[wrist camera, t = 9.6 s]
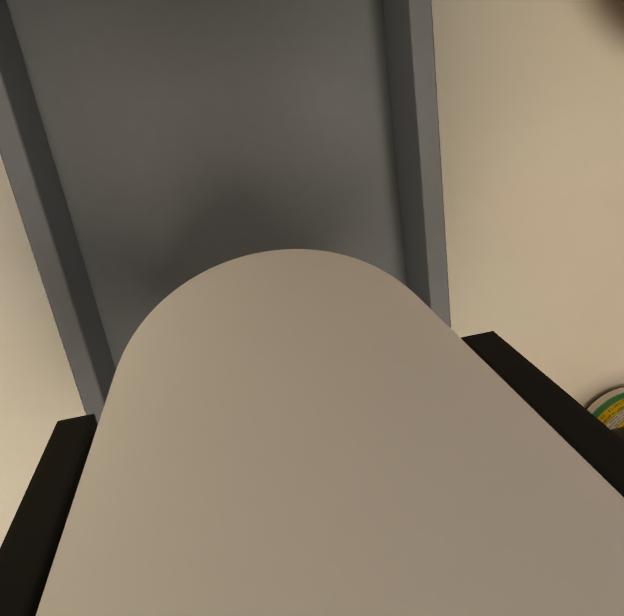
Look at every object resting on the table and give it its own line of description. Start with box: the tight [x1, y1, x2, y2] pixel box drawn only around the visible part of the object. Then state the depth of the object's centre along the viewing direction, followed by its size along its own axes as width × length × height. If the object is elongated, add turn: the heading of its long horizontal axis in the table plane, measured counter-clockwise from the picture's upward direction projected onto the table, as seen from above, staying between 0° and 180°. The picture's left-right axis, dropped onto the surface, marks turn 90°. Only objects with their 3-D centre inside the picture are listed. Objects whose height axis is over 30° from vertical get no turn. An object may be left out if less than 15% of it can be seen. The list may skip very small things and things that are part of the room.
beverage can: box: [36, 249, 624, 616], centre depth 9 cm, size 8×8×12 cm
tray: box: [0, 0, 451, 423], centre depth 22 cm, size 18×15×4 cm
